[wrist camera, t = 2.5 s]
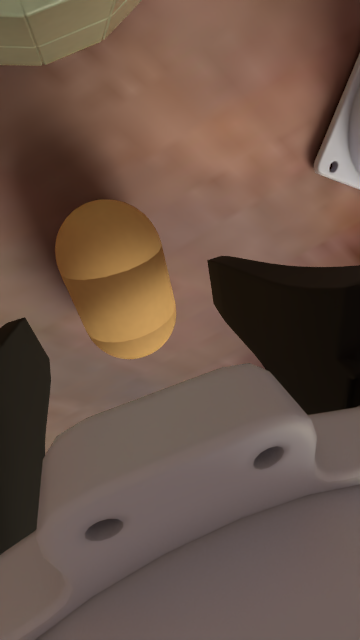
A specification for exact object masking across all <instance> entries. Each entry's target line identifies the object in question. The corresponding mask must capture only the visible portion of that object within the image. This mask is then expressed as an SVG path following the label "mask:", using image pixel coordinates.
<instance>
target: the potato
mask: <svg viewBox="0 0 360 640" xmlns="http://www.w3.org/2000/svg"><path fill="white" fill-rule="evenodd" d="M55 254H56V262H57V266H58V269H59V272H60V274H61V276H62V279H63V281H64V283H65V285H66V287H67V290H68V292H69V294H70V296H71V298H72V301H73V303H74V305H75V307H76V309H77V311H78V314H79V316H80V318H81V320H82V322H83V325H84V327H85V329H86V331H87V333H88V335H89V336H90V338H91V340H92V341H93V342H94V343H95V344H96V345H97V346H98V347H99V348H100V349H101V350H103V351H104V352H106V353H108V354H109V355H112V356H115V357H118V358H123V359H136V358H141V357H145V356H147V355H150V354H151V353H153V352H155V351H157V350H158V349H159V348H161V347H162V346H163V345H164V343H165V342H166V341H167V340H168V338H169V337H170V335H171V333H172V331H173V328H174V325H175V320H176V306H175V301H174V296H173V292H172V288H171V283H170V279H169V275H168V270H167V266H166V262H165V257H164V253H163V249H162V244H161V241H160V238H159V235H158V233H157V231H156V229H155V227H154V226H153V224H152V222H151V221H150V220H149V219H148V218H147V217H146V216H145V215H144V214H143V213H142V212H141V211H139V210H138V209H137V208H135V207H133V206H131V205H129V204H127V203H125V202H121V201H117V200H107V199H100V200H95V201H91V202H88V203H85V204H83V205H82V206H80V207H78V208H77V209H75V210H74V211H73V212H72V213H71V214H70V215H69V216H68V217H67V218H66V219H65V221H64V222H63V224H62V225H61V227H60V229H59V232H58V235H57V238H56V245H55Z"/></svg>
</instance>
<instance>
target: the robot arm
mask: <svg viewBox="0 0 360 640" xmlns="http://www.w3.org/2000/svg"><path fill="white" fill-rule="evenodd" d="M331 163H332V164H333V165H332V168H331V170H329V167H330V165H331ZM314 170H315V172H316V173H317V174H319V175H322V176H324V177H327V178H330V179H332V180H335V181H338V182H340V183H343V184H346V185H348V186H351V187H354V188H356V189H359V190H360V53H359V56H358V58H357V61H356V63H355V65H354V68H353V70H352V73H351V75H350V77H349V80H348V82H347V85H346V87H345V90H344V92H343V94H342V97H341V99H340V102H339V104H338V106H337V109H336V111H335V114H334V116H333V118H332V121H331V123H330V126H329V128H328V131H327V133H326V135H325V138H324V140H323V143H322V145H321V147H320V150H319V152H318V155H317V157H316V159H315V162H314ZM207 261H208V267H209V274H210V281H211V288H212V295H213V302H214V305H215V306H216V308H217V310H218V311H219V313H220V315H221V316H222V318H223V319H224V321H225V322H226V323H227V324H228V325H229V326H230V327H231V329H232V330H233V331H234V332H235V333H236V334H237V335H238V336H239V338H240V339H241V340H242V341H243V342H244V343H245V344H246V345H247V347H248V348H249V349H250V350H251V351H252V352H253V353H254V354H255V356H256V357H257V358H258V359H259V361H260V362H261V363H262V365H263V366H264V367H265V369H266V370H265V369H262V368H260V367H258V366H255V365H253V364H250V363H248V364H241V365H235V366H229V367H222V368H219V369H216V370H213V371H211V372H208V373H205V374H203V375H200V376H197V377H195V378H192V379H189V380H187V381H184V382H181V383H179V384H176V385H173V386H171V387H168V388H165V389H163V390H160V391H157V392H155V393H152V394H149V395H147V396H144V397H141V398H139V399H136V400H133V401H131V402H128V403H125V404H123V405H120V406H117V407H115V408H112V409H109V410H107V411H104V412H101V413H99V414H96V415H93V416H91V417H88V418H86V419H84V420H83V421H81V422H79V423H78V424H76V425H74V426H73V427H71V428H69V429H68V430H66V431H64V432H63V433H61V434H60V435H58V436H57V437H56V438H55V440H54V442H53V443H52V445H51V447H50V448H49V450H48V452H47V453H46V455H45V433H46V423H47V414H48V405H49V395H50V384H51V375H50V362H49V358H48V356H47V354H46V353H45V351H44V349H43V348H42V346H41V344H40V342H39V341H38V339H37V337H36V335H35V334H34V332H33V330H32V329H31V327H30V325H29V323H28V322H27V320H26V318H25V317H24V318H21V319H18V320H15V321H12V322H8V323H7V324H5V325H4V326H2V327H1V328H0V640H360V265H359V266H345V267H298V266H286V265H278V264H270V263H264V262H258V261H253V260H247V259H242V258H236V257H230V256H220V257H217V258H214V259H210V260H207Z"/></svg>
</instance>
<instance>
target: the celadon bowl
mask: <svg viewBox="0 0 360 640" xmlns="http://www.w3.org/2000/svg"><path fill="white" fill-rule="evenodd" d="M140 2H141V0H0V65H25V66H42V65H43V64H45V65H47V64H49V63H51V62H54V61H56V60H59V59H61V58H63V57H66V56H68V55H71V54H73V53H75V52H78V51H80V50H83V49H85V48H87V47H90V46H92V45H95V44H97V43H99V42H101V41H102V39H103V40H104V39H106V38H107V36H108V35H109V34H110V33H111V32H112V31H113V30H114V29H115V28H116V27H117V26H118V25H119V24H120V23H121V22H122V21H123V20H124V18H125V17H126V16H127V15H128V14H129V13H130V12H131V11H132V10H133V9H134V8H135V7H136V6H137V5H138V4H139V3H140Z"/></svg>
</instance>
